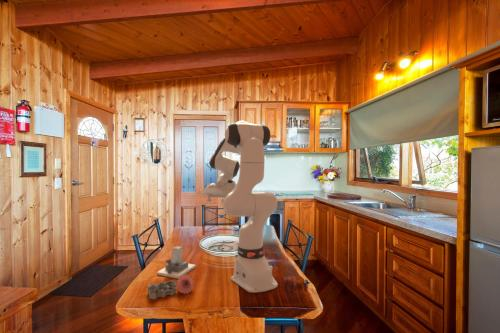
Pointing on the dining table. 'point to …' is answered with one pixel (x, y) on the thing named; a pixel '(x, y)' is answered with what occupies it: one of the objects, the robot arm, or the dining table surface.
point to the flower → (185, 284)
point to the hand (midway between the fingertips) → (215, 202)
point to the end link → (177, 256)
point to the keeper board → (175, 269)
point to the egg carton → (161, 289)
